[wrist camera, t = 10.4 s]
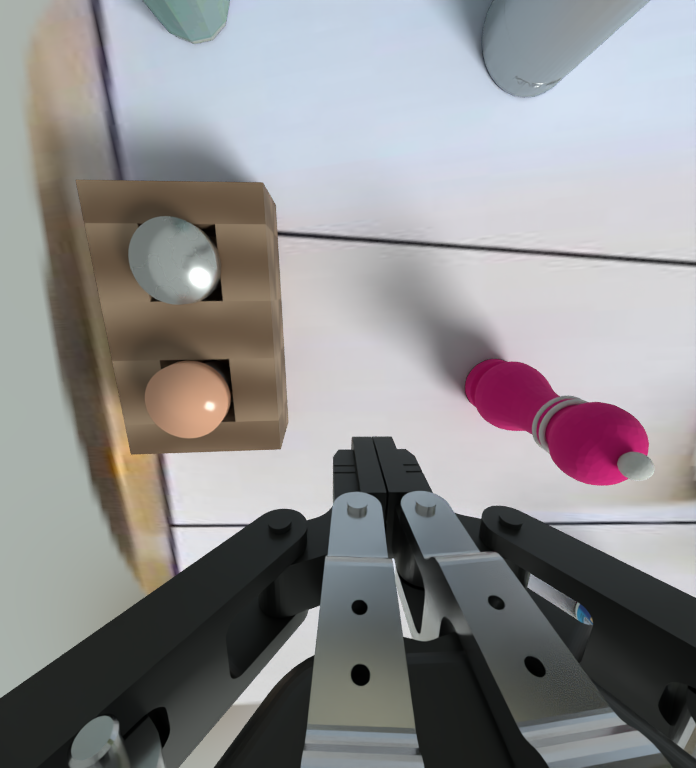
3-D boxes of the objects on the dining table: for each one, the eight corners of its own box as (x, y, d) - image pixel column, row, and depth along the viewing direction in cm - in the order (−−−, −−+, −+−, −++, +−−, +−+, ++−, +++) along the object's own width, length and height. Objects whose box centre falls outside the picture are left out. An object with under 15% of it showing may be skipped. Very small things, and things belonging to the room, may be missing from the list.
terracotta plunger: (177, 350, 33) (138, 365, 26) (242, 349, 33) (220, 363, 26) (185, 410, 35) (151, 439, 28) (247, 408, 35) (229, 437, 28)
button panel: (128, 203, 32) (75, 179, 25) (275, 205, 33) (262, 182, 26) (165, 425, 38) (130, 454, 31) (288, 422, 39) (280, 449, 32)
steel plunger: (165, 232, 31) (120, 215, 24) (234, 232, 32) (209, 216, 25) (175, 302, 33) (136, 304, 26) (241, 301, 33) (219, 304, 26)
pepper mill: (456, 411, 40) (577, 523, 21) (465, 352, 38) (609, 415, 19) (513, 414, 40) (682, 524, 21) (525, 356, 39) (724, 420, 19)
